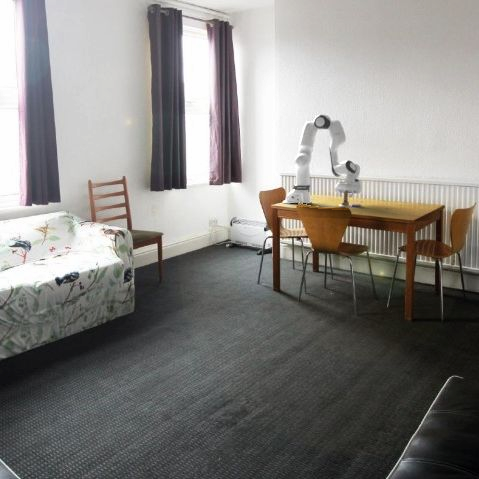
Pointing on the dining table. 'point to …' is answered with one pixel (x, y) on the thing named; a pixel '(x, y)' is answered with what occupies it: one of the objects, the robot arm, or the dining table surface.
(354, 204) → the ink pad
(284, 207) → the dining table surface
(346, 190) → the stamp
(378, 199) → the dining table surface
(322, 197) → the dining table surface
